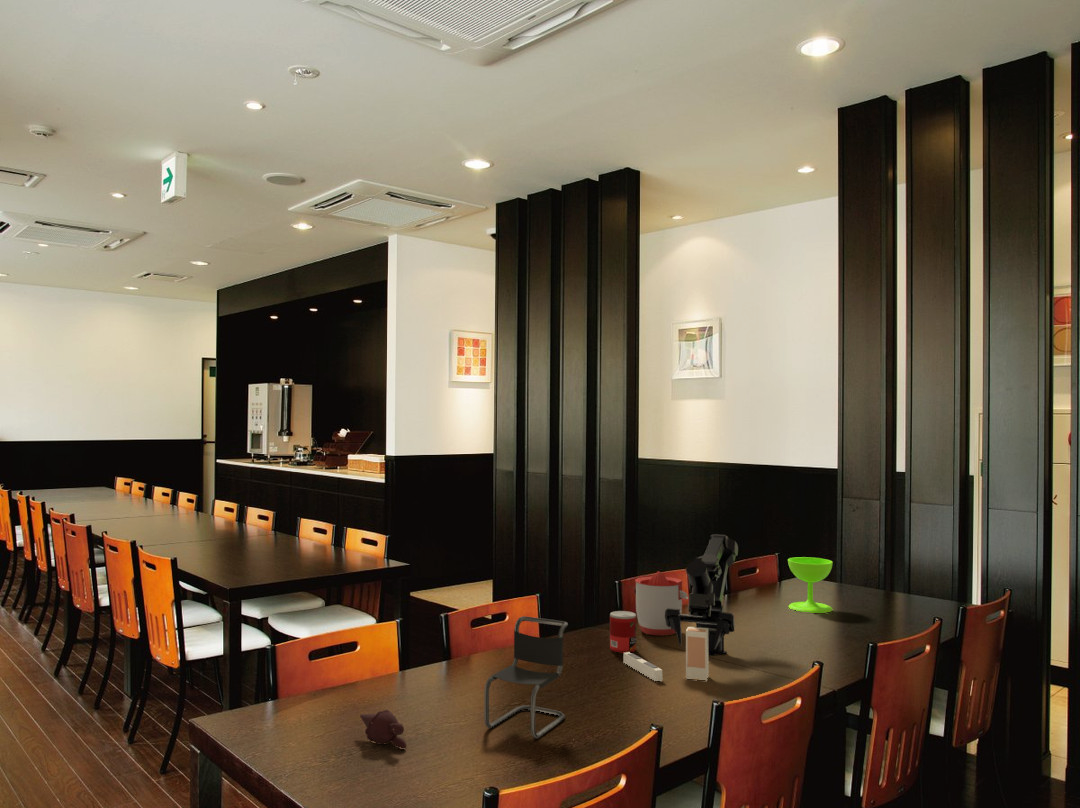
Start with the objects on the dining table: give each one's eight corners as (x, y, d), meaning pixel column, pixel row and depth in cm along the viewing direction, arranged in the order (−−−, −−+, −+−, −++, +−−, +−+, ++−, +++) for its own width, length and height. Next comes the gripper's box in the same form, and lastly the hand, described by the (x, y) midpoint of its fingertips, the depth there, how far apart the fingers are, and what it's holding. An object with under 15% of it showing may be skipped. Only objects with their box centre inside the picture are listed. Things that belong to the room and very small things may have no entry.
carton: (688, 674, 216) (688, 626, 216) (708, 676, 214) (708, 627, 215) (685, 679, 211) (685, 630, 212) (706, 681, 210) (706, 631, 210)
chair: (570, 716, 184) (570, 621, 185) (534, 742, 169) (534, 639, 169) (521, 707, 190) (522, 615, 191) (482, 731, 175) (483, 631, 175)
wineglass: (839, 614, 287) (839, 564, 288) (795, 613, 288) (795, 564, 288) (824, 604, 303) (824, 557, 304) (782, 604, 304) (782, 557, 304)
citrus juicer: (684, 640, 250) (684, 577, 251) (630, 635, 256) (630, 573, 257) (691, 628, 265) (691, 569, 266) (640, 624, 271) (640, 566, 271)
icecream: (344, 709, 170) (387, 733, 160) (372, 693, 175) (415, 715, 165) (349, 738, 172) (392, 763, 162) (376, 720, 177) (419, 744, 167)
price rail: (629, 662, 227) (629, 651, 227) (662, 681, 210) (662, 669, 210) (623, 663, 226) (623, 652, 226) (655, 682, 209) (655, 669, 209)
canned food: (635, 654, 235) (635, 617, 235) (608, 652, 236) (608, 615, 237) (637, 647, 242) (637, 611, 243) (611, 646, 244) (611, 610, 244)
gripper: (665, 579, 222) (659, 627, 211) (733, 583, 216) (730, 633, 205) (669, 601, 229) (663, 649, 218) (735, 606, 224) (733, 656, 213)
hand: (697, 646), depth 214 cm, fingers open, 9 cm apart
